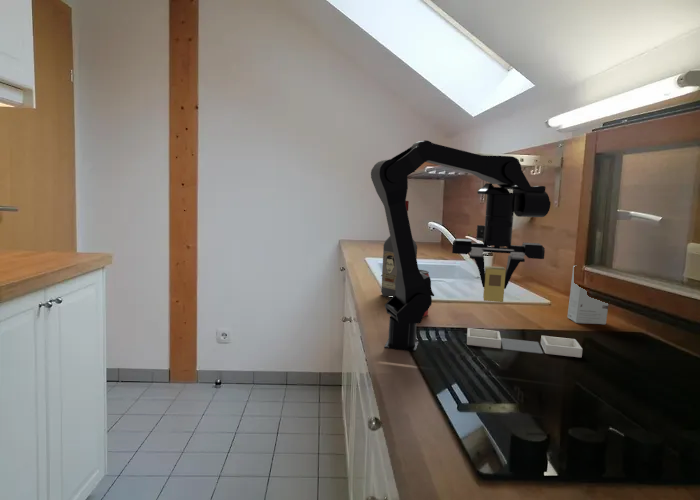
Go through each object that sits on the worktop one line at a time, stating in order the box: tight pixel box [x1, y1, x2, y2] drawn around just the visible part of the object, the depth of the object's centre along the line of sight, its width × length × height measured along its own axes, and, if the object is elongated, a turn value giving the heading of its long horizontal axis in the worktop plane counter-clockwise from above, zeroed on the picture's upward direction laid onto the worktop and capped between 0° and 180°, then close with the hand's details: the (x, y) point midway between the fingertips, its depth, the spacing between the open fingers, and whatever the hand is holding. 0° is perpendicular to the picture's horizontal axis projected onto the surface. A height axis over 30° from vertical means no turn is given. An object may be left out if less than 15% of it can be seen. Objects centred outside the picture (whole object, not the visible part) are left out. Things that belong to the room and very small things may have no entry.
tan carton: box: [482, 265, 506, 303], centre depth 105 cm, size 4×4×7 cm
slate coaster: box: [501, 337, 544, 355], centre depth 105 cm, size 8×8×1 cm
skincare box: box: [567, 265, 609, 325], centre depth 130 cm, size 8×6×15 cm
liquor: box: [380, 200, 418, 298], centre depth 151 cm, size 9×9×30 cm
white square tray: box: [540, 335, 583, 358], centre depth 103 cm, size 7×7×2 cm
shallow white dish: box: [466, 327, 502, 349], centre depth 107 cm, size 7×7×2 cm
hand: (494, 287), depth 106 cm, fingers closed on tan carton, 4 cm apart
